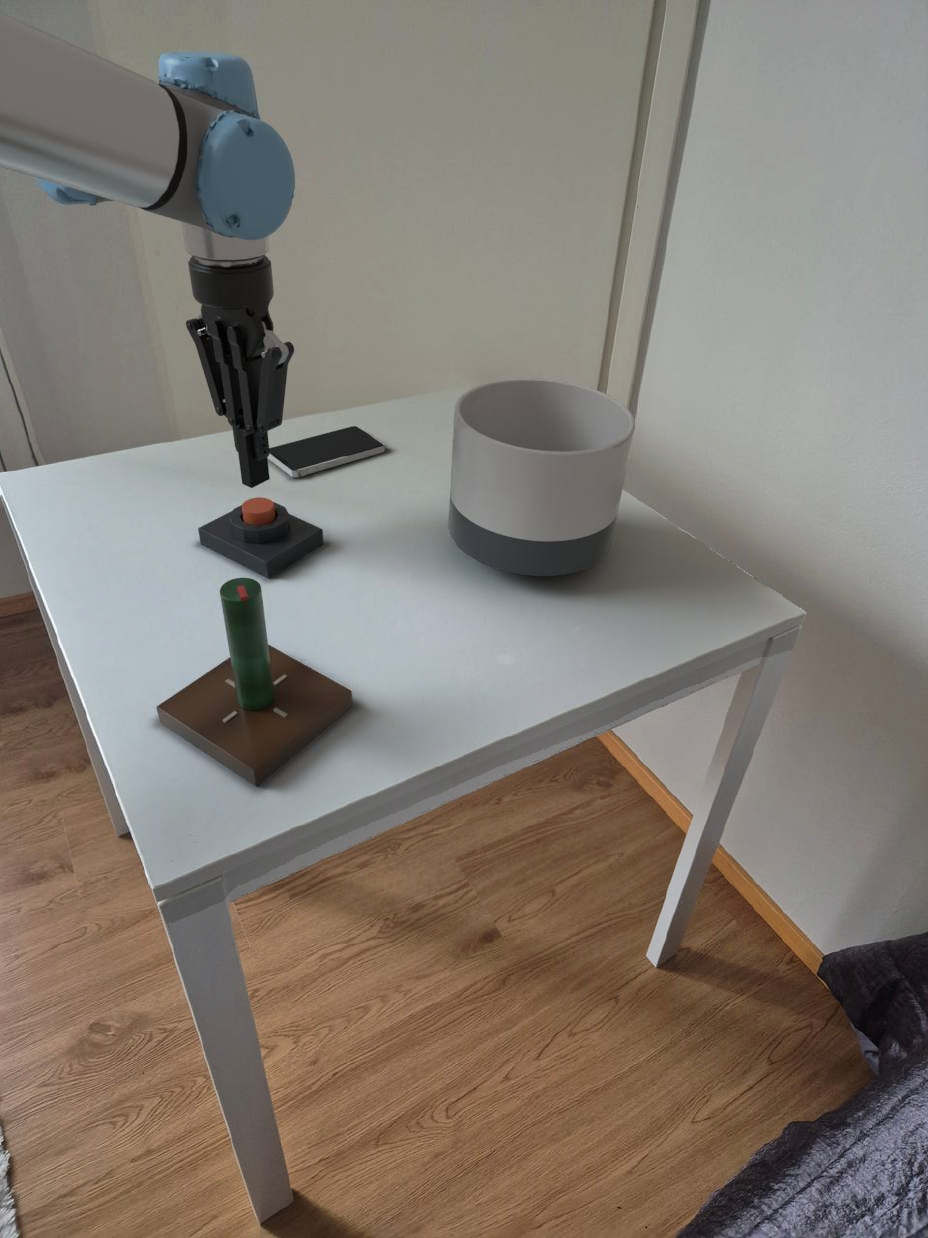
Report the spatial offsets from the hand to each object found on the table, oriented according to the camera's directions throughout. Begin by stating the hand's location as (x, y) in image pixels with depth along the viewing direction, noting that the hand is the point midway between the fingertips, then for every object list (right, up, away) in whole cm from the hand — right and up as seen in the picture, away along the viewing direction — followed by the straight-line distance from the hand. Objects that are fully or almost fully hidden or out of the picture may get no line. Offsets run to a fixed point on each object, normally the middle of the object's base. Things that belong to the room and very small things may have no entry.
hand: (256, 481), depth 89 cm
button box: (-1, -7, +5) cm, 8 cm away
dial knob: (+5, -22, -18) cm, 29 cm away
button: (0, -4, +3) cm, 5 cm away
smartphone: (+4, +8, +24) cm, 26 cm away
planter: (+31, -7, +7) cm, 33 cm away
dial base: (+5, -24, -17) cm, 30 cm away
